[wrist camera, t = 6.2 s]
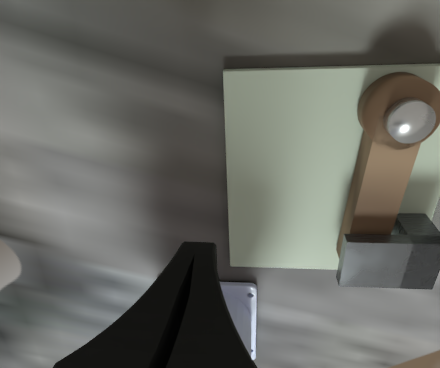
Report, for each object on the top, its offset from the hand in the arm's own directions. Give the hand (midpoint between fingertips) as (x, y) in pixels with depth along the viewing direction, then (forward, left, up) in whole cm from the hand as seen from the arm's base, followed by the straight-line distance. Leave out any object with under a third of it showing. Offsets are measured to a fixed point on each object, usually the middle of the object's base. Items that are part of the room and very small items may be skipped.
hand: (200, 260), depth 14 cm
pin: (+4, -10, -6) cm, 12 cm away
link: (0, -9, -8) cm, 12 cm away
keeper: (-5, -10, -9) cm, 14 cm away
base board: (-1, -7, -9) cm, 11 cm away
